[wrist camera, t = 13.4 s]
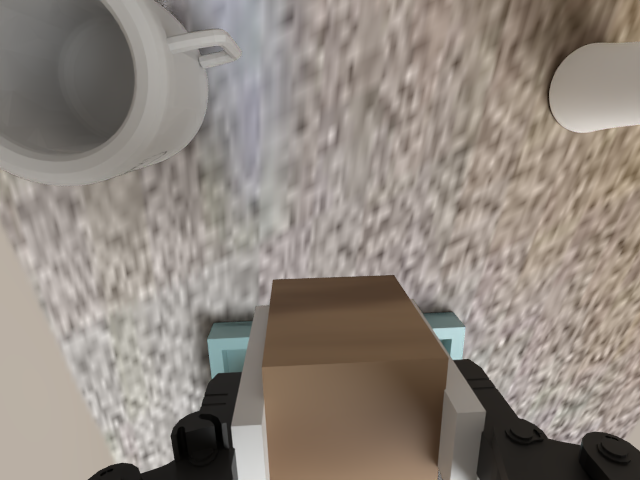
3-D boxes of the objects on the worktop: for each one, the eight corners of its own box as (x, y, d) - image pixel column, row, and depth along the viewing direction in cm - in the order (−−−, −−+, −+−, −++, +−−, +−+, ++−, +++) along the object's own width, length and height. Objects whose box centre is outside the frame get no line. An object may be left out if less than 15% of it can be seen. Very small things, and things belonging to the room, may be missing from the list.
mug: (83, 179, 28) (-25, 210, 19) (17, 13, 25) (-155, -51, 15) (267, 138, 28) (252, 149, 19) (225, -33, 25) (182, -127, 15)
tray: (213, 322, 32) (207, 339, 30) (453, 312, 33) (465, 327, 31) (227, 449, 36) (222, 472, 34) (441, 435, 37) (451, 457, 35)
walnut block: (272, 279, 16) (261, 367, 10) (394, 275, 16) (448, 357, 11) (278, 384, 17) (271, 512, 12) (389, 378, 18) (435, 500, 12)
